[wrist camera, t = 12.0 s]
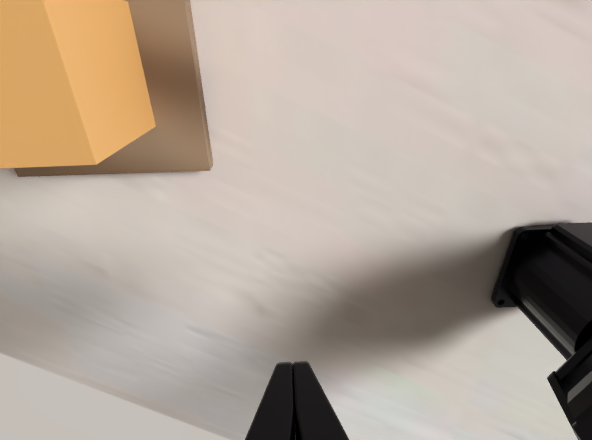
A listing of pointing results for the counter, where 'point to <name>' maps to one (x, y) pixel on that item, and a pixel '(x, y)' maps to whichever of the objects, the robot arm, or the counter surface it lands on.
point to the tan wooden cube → (69, 82)
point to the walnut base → (160, 99)
